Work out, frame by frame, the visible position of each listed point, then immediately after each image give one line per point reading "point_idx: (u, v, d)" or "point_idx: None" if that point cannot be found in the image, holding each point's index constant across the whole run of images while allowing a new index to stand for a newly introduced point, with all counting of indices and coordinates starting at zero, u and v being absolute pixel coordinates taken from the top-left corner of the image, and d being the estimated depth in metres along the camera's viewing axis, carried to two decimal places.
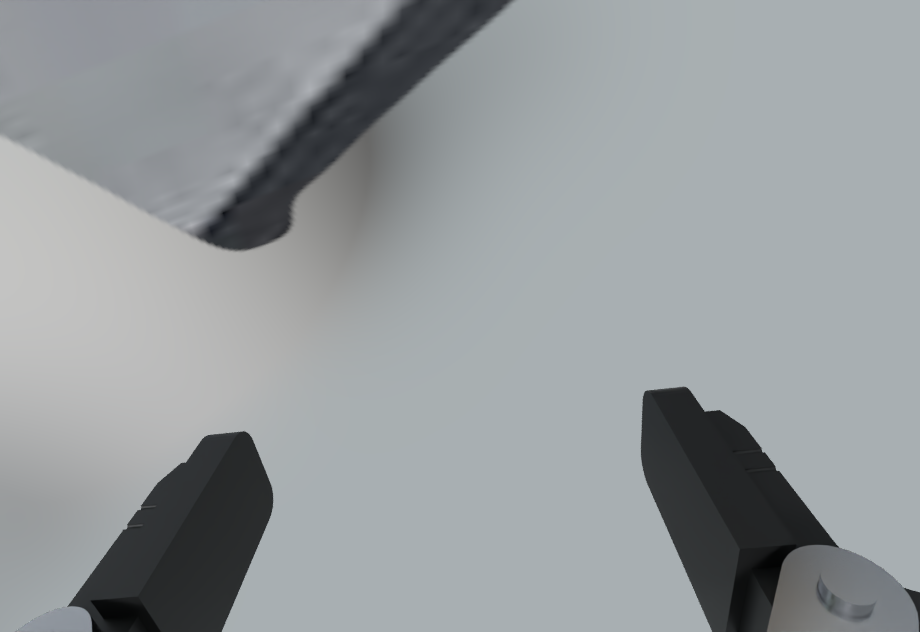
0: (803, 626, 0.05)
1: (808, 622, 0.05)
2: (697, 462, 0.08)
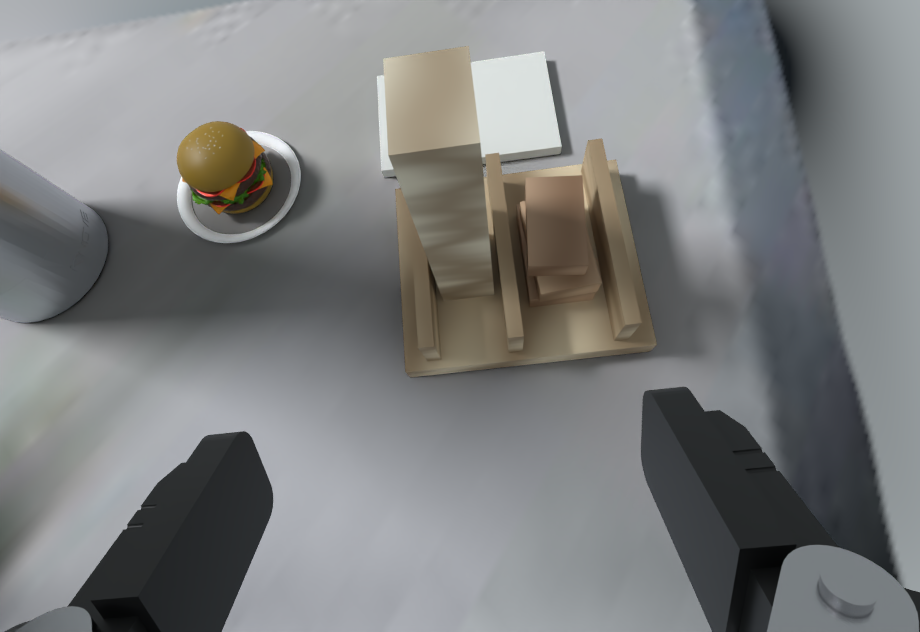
0: (803, 626, 0.05)
1: (808, 622, 0.05)
2: (697, 462, 0.08)
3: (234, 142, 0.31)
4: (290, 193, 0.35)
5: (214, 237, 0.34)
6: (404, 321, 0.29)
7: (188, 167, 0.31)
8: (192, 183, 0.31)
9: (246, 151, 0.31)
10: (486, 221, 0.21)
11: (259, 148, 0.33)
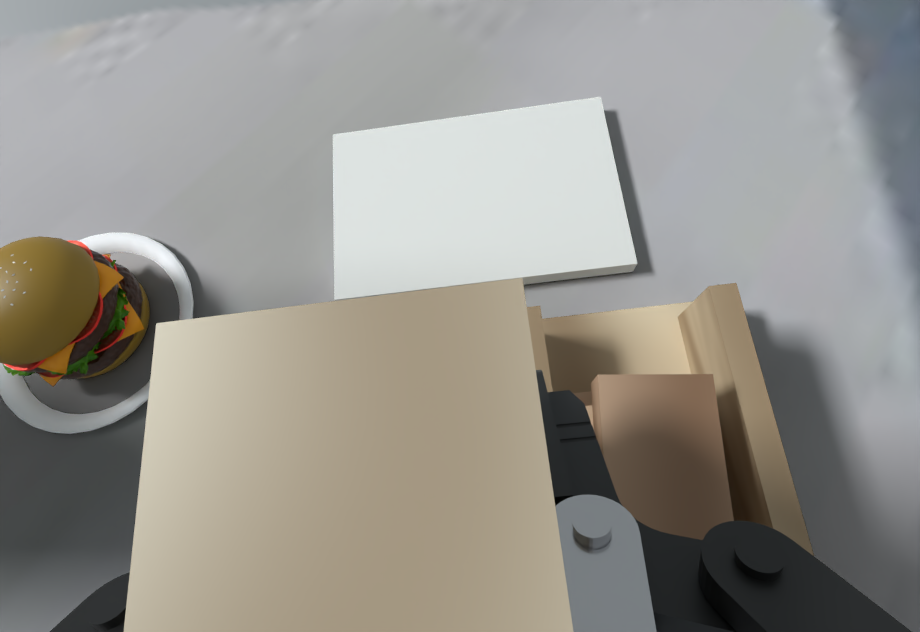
0: None
1: (571, 567, 0.06)
2: None
3: (54, 279, 0.18)
4: None
5: (49, 422, 0.20)
6: None
7: None
8: None
9: (79, 291, 0.18)
10: None
11: (112, 276, 0.19)
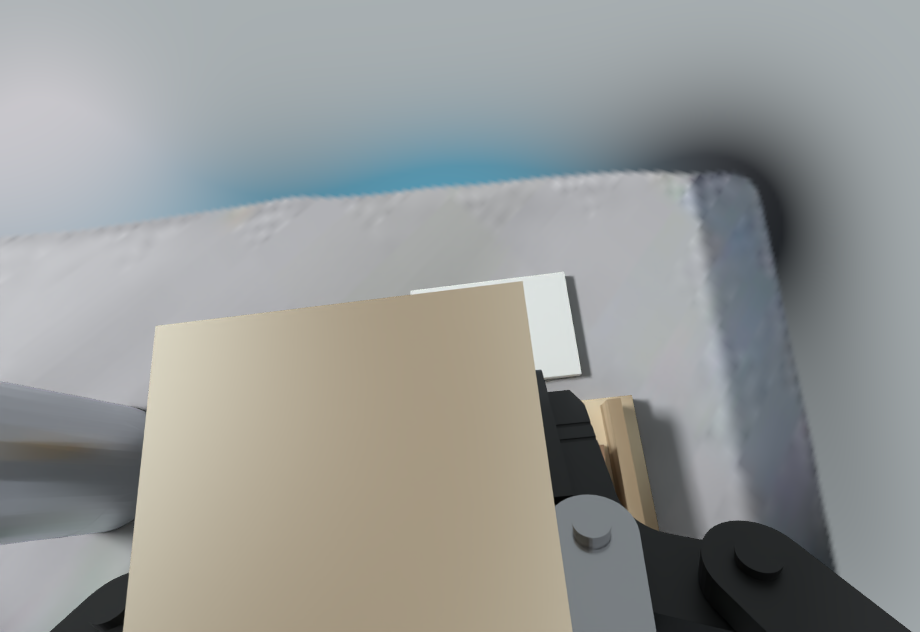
0: None
1: (571, 567, 0.06)
2: None
3: None
4: None
5: None
6: None
7: None
8: None
9: None
10: None
11: None
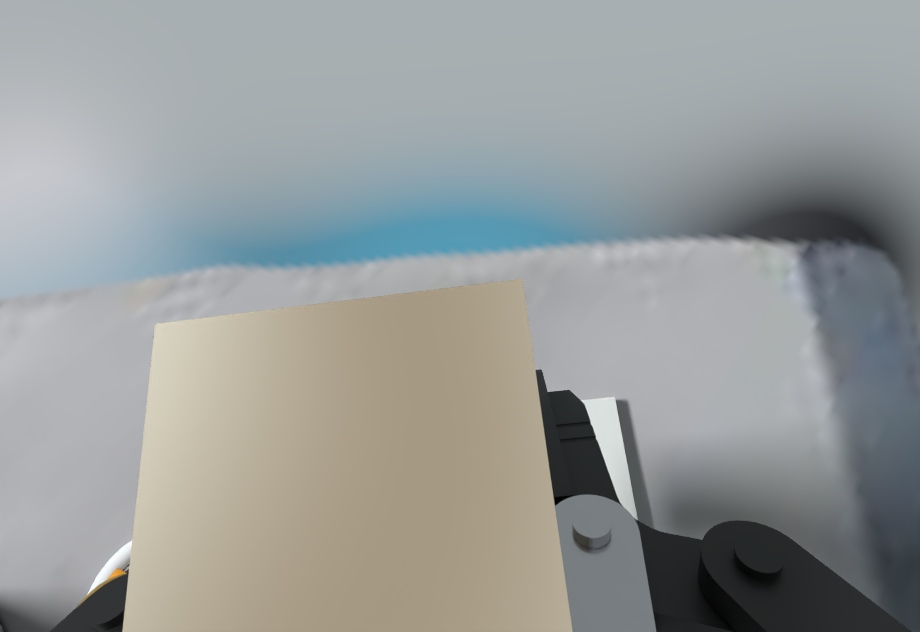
0: None
1: (571, 567, 0.06)
2: None
3: None
4: None
5: None
6: None
7: None
8: None
9: None
10: None
11: None
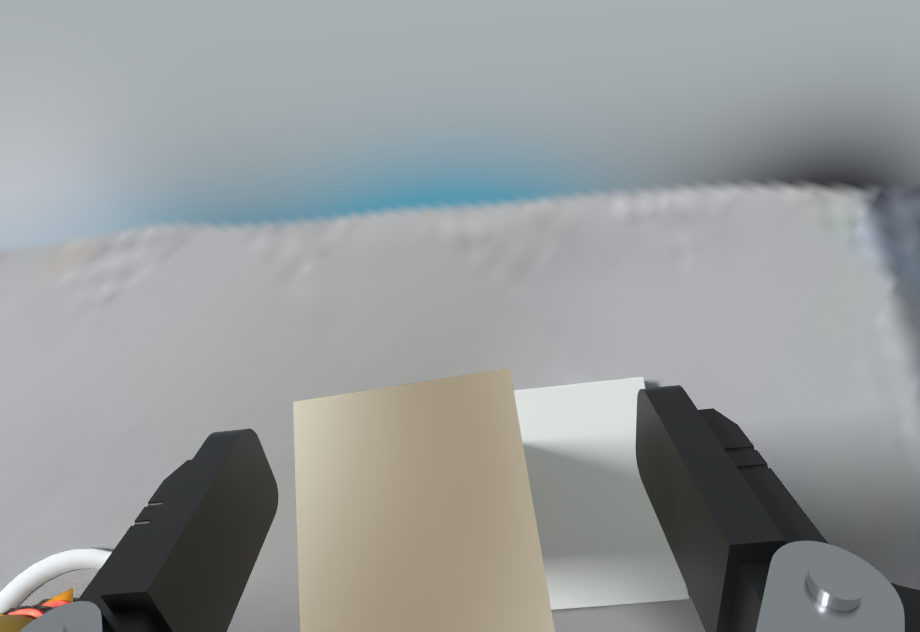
0: (790, 620, 0.05)
1: (797, 618, 0.05)
2: (689, 459, 0.08)
3: None
4: None
5: None
6: None
7: None
8: None
9: None
10: None
11: None
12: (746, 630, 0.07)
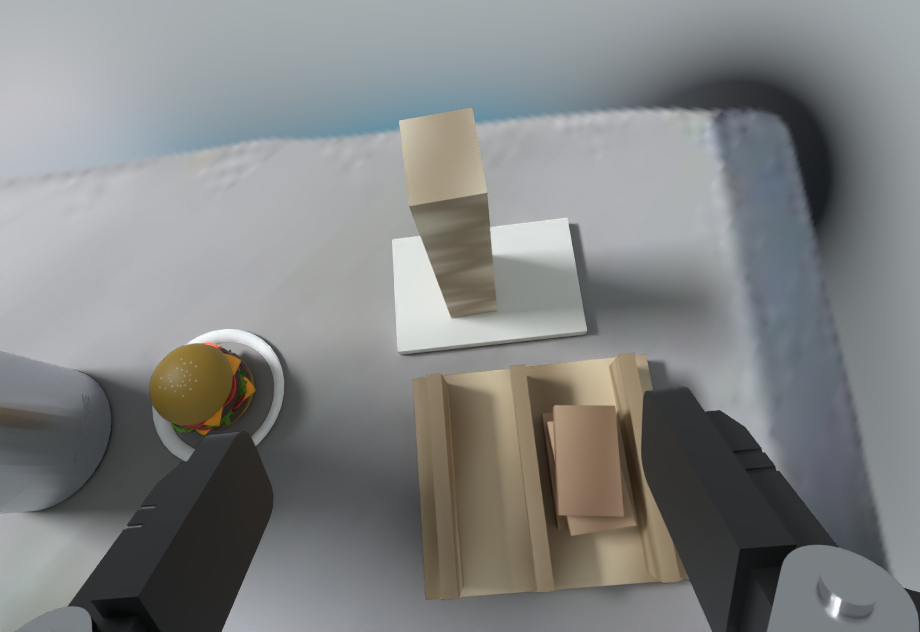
0: (803, 626, 0.05)
1: (808, 622, 0.05)
2: (697, 462, 0.08)
3: (210, 369, 0.29)
4: (275, 393, 0.33)
5: None
6: (424, 538, 0.28)
7: (165, 407, 0.29)
8: (172, 421, 0.29)
9: (224, 374, 0.30)
10: (491, 251, 0.24)
11: (235, 361, 0.31)
12: None
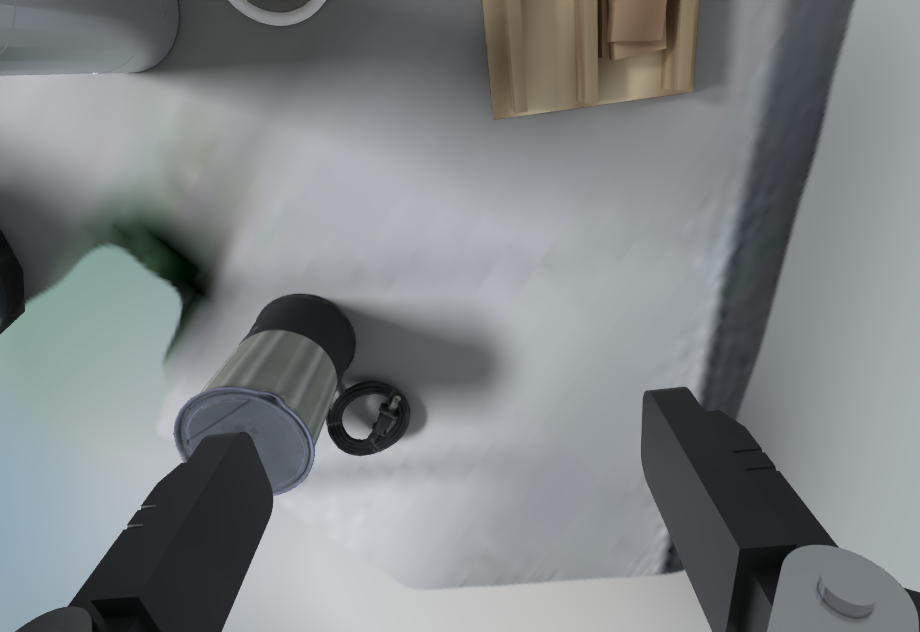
0: (803, 626, 0.05)
1: (808, 622, 0.05)
2: (697, 462, 0.08)
3: None
4: None
5: (280, 20, 0.34)
6: (491, 73, 0.35)
7: None
8: None
9: None
10: None
11: None
12: None
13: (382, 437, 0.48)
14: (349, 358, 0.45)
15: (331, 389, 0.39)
